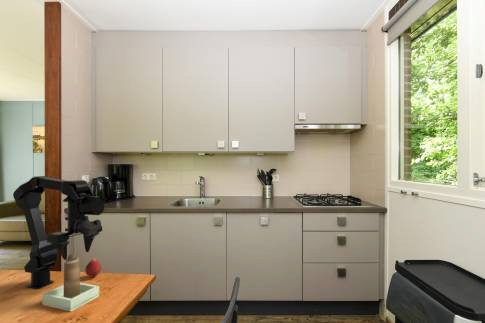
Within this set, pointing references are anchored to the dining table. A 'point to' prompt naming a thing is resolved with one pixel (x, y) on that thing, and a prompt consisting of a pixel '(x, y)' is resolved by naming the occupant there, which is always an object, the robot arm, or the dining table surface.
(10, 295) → the dining table surface
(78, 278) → the pepper mill
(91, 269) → the pomegranate
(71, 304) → the serving tray
